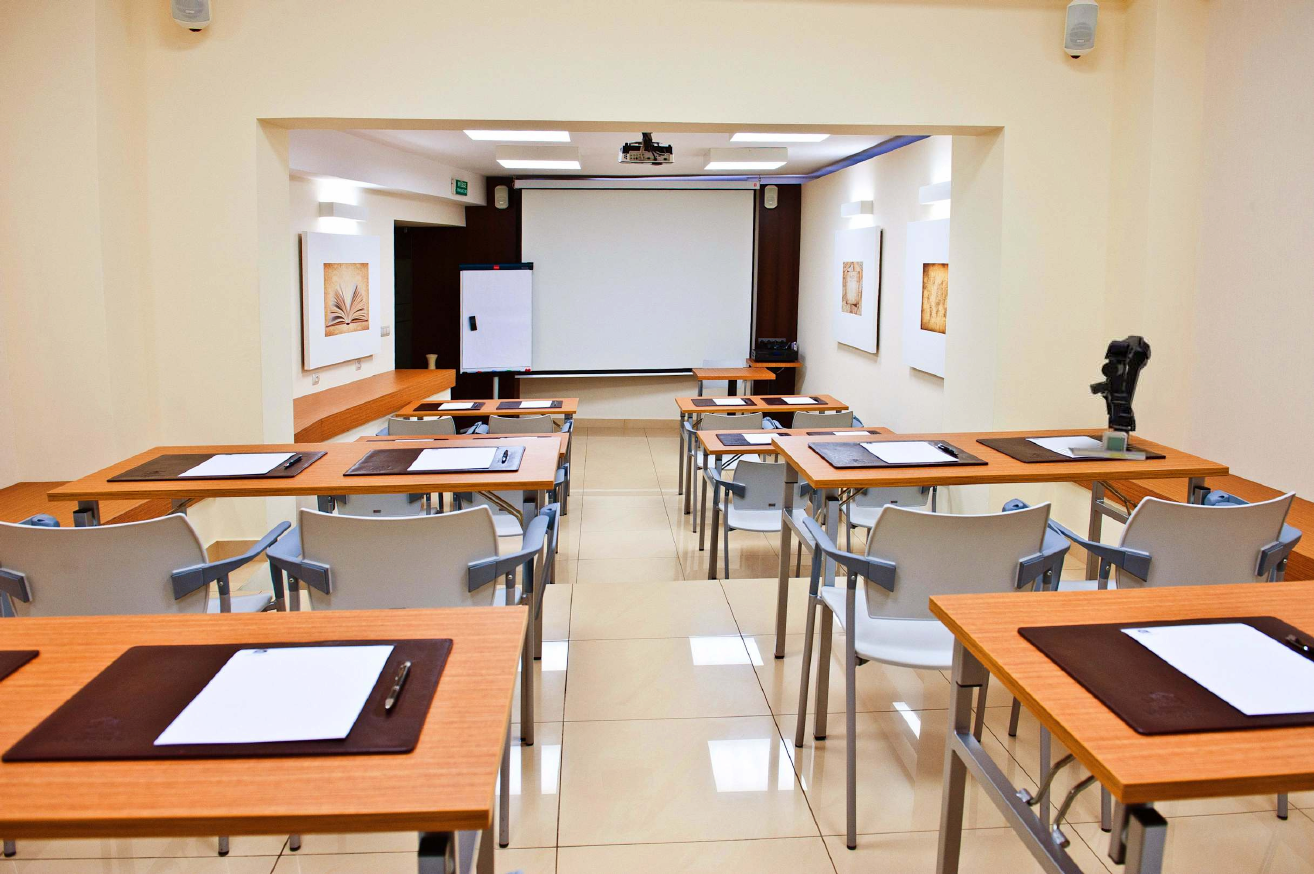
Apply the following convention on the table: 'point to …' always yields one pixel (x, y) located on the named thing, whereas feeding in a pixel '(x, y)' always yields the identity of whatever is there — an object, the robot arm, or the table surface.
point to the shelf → (1108, 453)
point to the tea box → (1114, 440)
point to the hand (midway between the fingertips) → (1111, 417)
